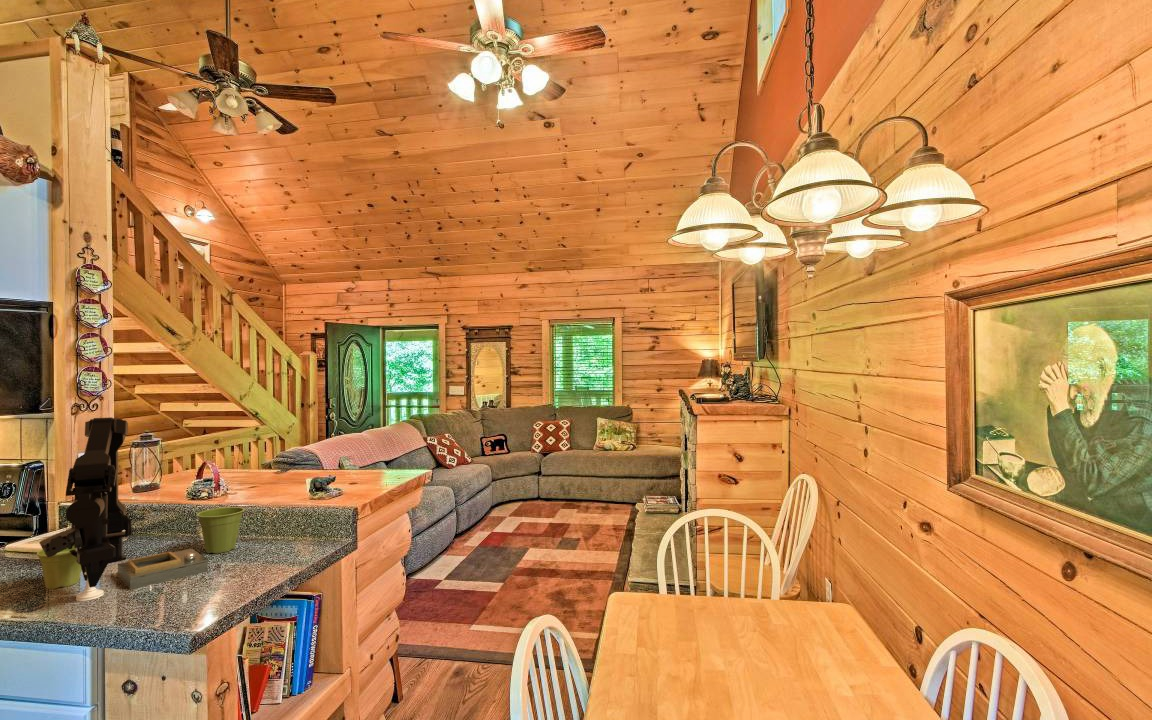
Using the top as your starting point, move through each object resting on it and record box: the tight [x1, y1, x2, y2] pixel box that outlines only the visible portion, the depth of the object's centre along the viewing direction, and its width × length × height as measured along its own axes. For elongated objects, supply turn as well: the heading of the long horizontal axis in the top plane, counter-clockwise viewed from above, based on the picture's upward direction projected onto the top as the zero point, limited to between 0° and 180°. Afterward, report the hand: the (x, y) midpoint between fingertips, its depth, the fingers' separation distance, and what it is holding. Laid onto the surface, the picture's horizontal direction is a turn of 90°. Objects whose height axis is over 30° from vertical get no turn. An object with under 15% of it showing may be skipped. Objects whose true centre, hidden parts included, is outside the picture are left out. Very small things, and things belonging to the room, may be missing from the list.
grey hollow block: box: [117, 548, 209, 590], centre depth 142 cm, size 14×16×5 cm
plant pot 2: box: [196, 506, 246, 554], centre depth 161 cm, size 12×12×11 cm
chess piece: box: [75, 572, 105, 602], centre depth 128 cm, size 5×5×10 cm
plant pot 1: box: [36, 546, 82, 590], centre depth 135 cm, size 9×9×9 cm
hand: (90, 583), depth 128 cm, fingers open, 6 cm apart
